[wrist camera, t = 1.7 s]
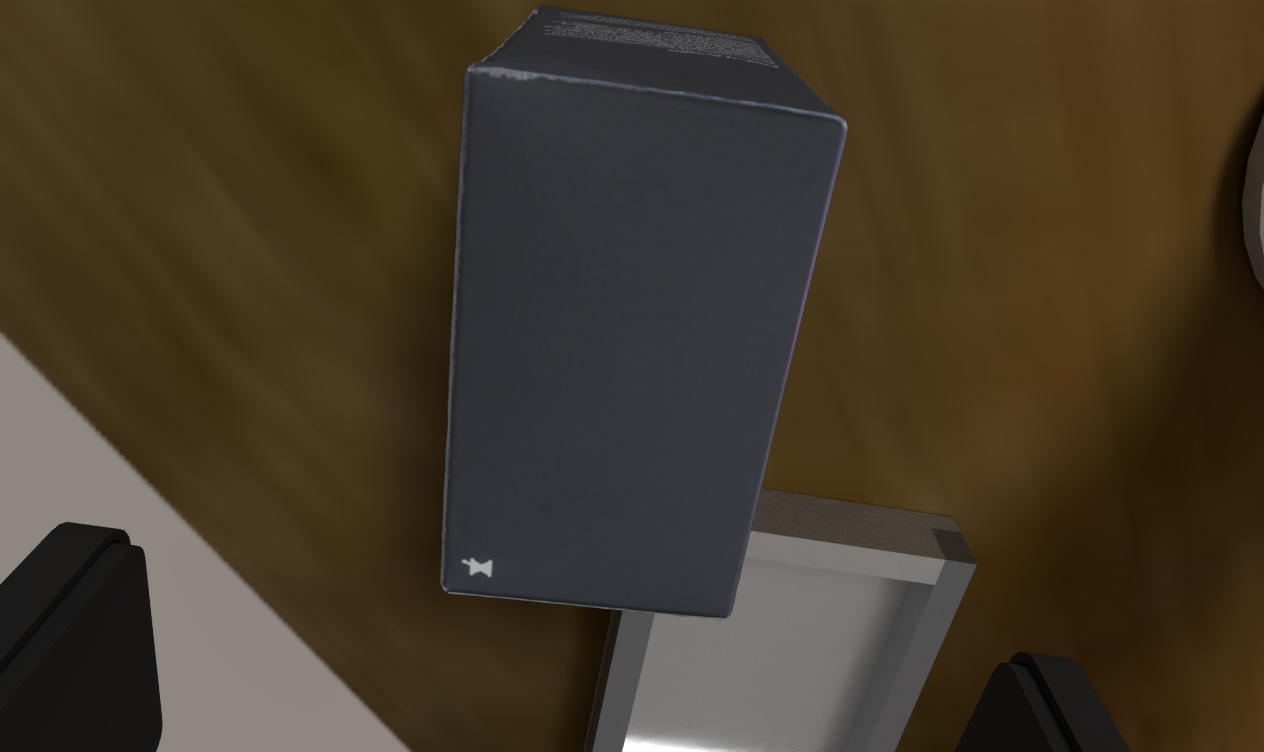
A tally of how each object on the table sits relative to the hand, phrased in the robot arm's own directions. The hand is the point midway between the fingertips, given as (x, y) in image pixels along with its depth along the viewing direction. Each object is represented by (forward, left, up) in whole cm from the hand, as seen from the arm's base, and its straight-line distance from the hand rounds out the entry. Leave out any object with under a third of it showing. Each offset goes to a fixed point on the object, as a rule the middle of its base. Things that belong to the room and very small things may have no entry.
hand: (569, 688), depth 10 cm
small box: (0, 0, -17) cm, 17 cm away
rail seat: (-7, +15, -17) cm, 24 cm away
